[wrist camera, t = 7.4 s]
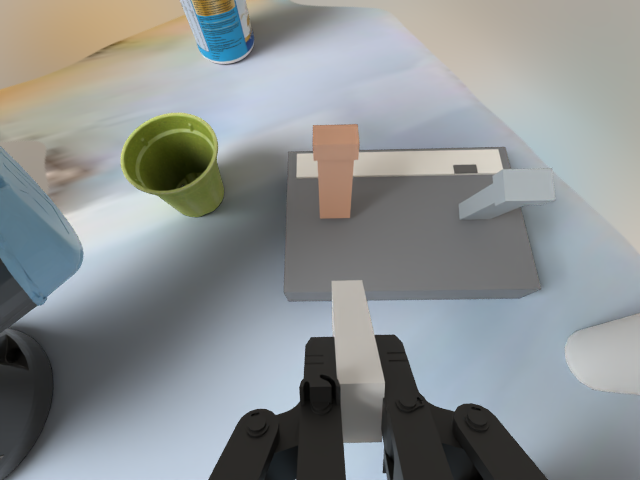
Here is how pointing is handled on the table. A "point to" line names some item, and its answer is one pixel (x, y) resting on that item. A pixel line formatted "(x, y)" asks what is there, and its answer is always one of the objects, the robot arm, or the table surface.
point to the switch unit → (406, 230)
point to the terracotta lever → (335, 167)
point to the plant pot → (175, 162)
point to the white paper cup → (607, 355)
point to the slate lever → (510, 193)
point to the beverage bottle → (220, 28)
